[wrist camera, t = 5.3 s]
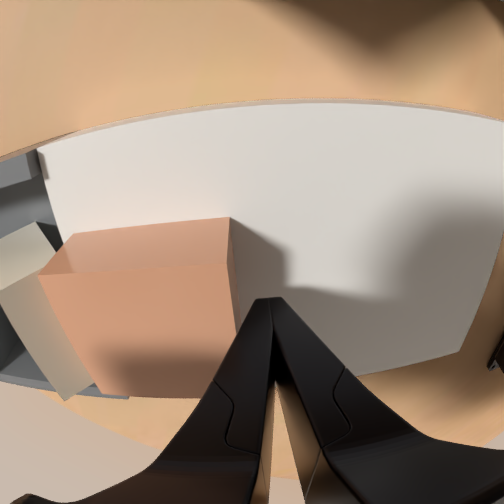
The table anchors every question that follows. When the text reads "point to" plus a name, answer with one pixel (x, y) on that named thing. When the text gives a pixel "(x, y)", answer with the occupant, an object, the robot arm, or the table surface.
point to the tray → (40, 211)
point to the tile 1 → (37, 310)
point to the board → (313, 209)
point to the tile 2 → (148, 304)
